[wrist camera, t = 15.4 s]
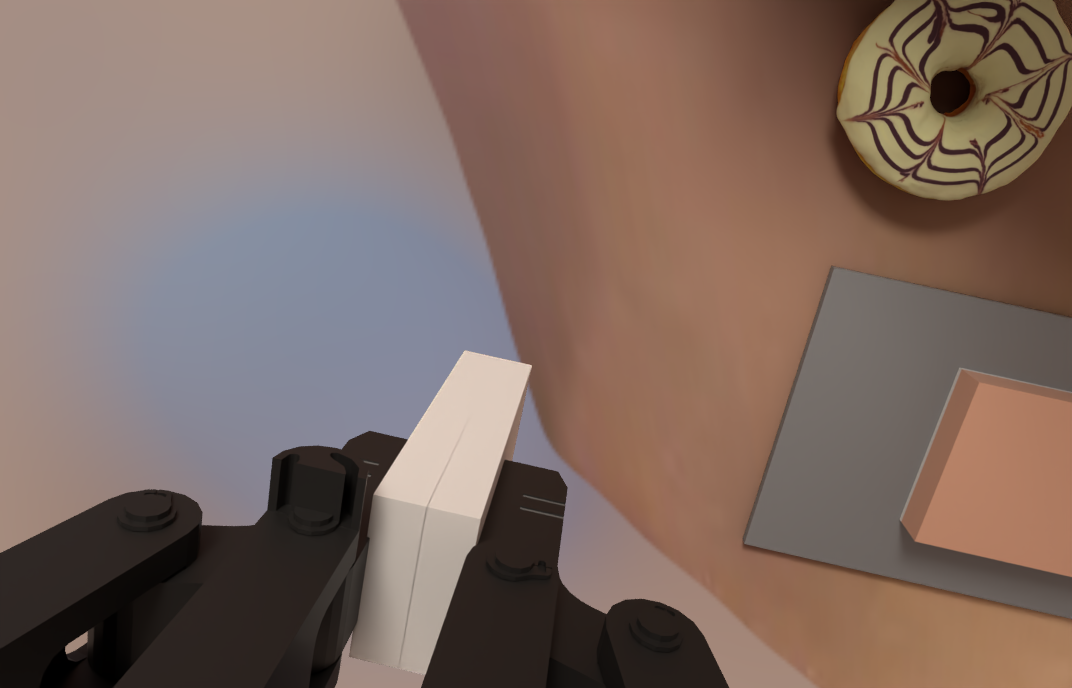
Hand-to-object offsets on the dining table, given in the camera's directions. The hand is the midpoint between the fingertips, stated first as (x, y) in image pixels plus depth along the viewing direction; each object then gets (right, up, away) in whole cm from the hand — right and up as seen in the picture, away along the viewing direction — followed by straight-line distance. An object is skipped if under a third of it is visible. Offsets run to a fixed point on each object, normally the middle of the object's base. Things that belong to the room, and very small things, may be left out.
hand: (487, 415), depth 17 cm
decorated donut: (+22, +15, +23) cm, 35 cm away
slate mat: (+28, -5, +28) cm, 40 cm away
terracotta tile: (+24, -5, +27) cm, 36 cm away
